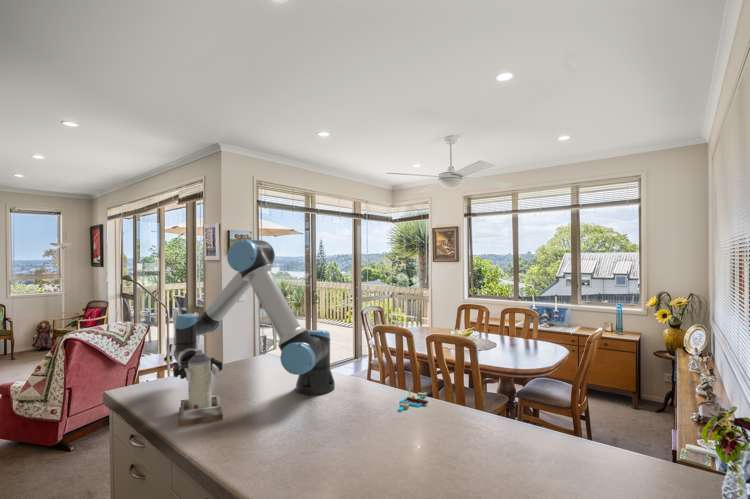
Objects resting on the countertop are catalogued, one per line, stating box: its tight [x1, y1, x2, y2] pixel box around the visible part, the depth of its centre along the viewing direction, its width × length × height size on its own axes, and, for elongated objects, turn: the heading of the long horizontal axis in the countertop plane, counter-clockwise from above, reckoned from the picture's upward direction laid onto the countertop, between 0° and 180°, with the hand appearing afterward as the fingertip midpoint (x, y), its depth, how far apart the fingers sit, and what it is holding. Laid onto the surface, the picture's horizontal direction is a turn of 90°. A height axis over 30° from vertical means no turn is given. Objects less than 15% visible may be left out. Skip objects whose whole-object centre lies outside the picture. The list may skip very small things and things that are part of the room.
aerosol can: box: [188, 349, 212, 410], centre depth 133 cm, size 7×7×20 cm
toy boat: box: [397, 387, 429, 412], centre depth 144 cm, size 20×5×9 cm
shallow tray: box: [177, 394, 224, 427], centre depth 133 cm, size 13×13×4 cm
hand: (203, 374), depth 129 cm, fingers open, 8 cm apart
